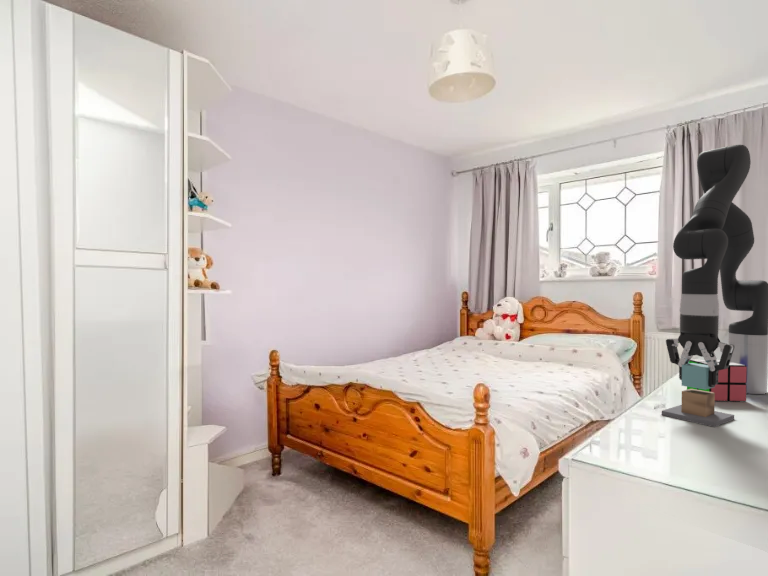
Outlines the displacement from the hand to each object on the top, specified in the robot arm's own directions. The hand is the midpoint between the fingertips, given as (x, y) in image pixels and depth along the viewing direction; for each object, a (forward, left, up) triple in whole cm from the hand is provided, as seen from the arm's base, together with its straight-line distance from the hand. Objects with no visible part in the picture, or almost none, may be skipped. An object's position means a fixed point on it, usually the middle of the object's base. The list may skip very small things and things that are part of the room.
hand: (698, 384), depth 108 cm
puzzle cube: (-27, -6, -8) cm, 29 cm away
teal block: (0, 0, 0) cm, 0 cm away
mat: (0, 0, -8) cm, 8 cm away
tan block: (0, 0, -7) cm, 7 cm away
